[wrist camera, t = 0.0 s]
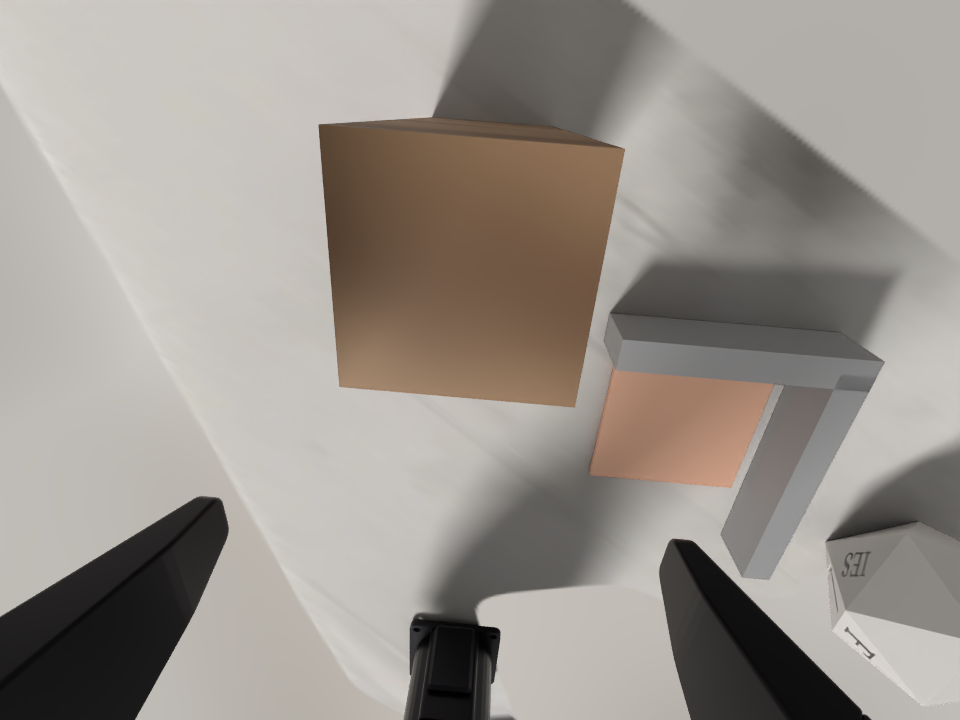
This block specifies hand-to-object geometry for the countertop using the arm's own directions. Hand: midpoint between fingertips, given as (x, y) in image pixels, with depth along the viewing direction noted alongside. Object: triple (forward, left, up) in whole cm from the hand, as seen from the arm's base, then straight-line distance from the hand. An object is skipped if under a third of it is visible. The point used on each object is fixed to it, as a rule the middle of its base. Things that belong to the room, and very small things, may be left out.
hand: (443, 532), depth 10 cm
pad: (-6, -11, -15) cm, 19 cm away
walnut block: (+5, 0, -15) cm, 15 cm away
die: (-14, -25, -15) cm, 32 cm away
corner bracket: (-7, -12, -15) cm, 20 cm away
